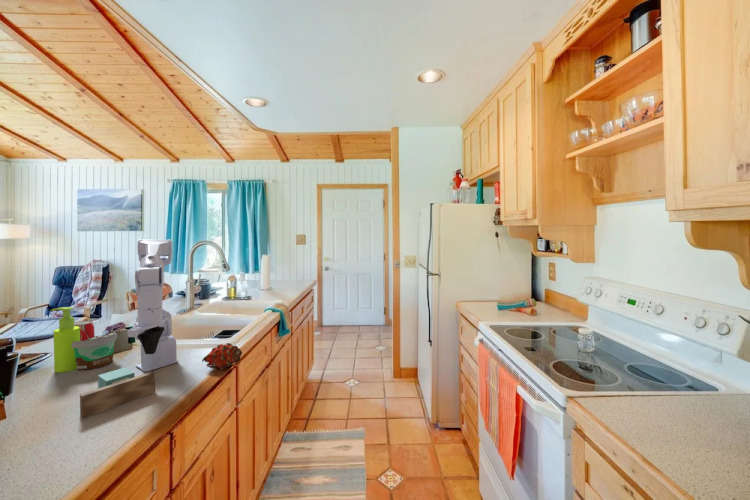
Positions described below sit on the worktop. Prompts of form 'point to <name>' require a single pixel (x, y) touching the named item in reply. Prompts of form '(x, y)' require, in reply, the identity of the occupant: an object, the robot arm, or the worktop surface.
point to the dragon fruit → (223, 356)
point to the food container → (94, 352)
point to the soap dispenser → (65, 342)
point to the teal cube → (114, 377)
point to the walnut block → (116, 394)
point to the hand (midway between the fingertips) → (150, 353)
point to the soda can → (85, 329)
